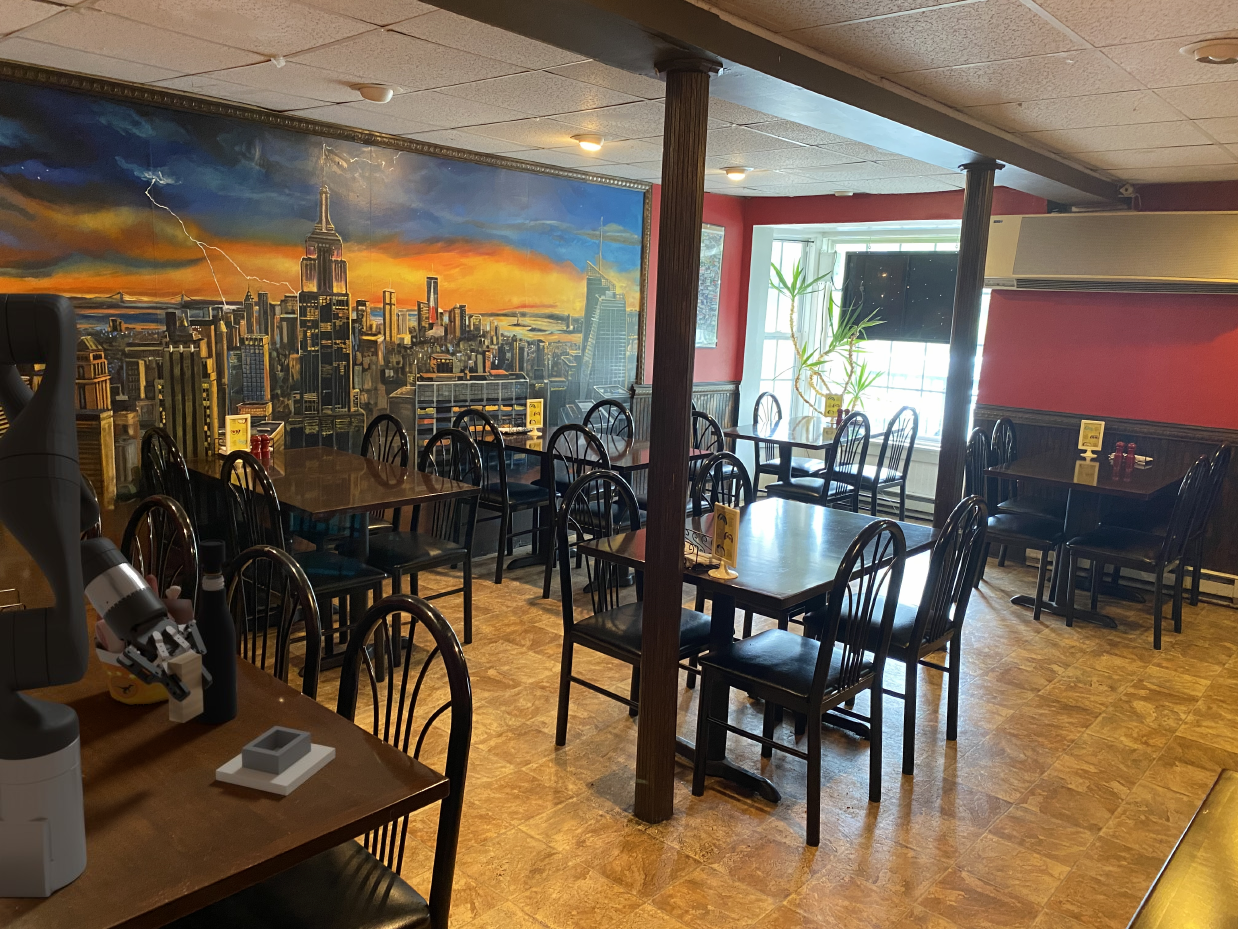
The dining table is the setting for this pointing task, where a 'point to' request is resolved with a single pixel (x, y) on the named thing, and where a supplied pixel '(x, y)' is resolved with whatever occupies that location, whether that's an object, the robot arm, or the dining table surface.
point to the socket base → (276, 761)
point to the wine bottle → (216, 638)
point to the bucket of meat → (110, 647)
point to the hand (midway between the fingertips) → (196, 691)
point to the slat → (191, 675)
